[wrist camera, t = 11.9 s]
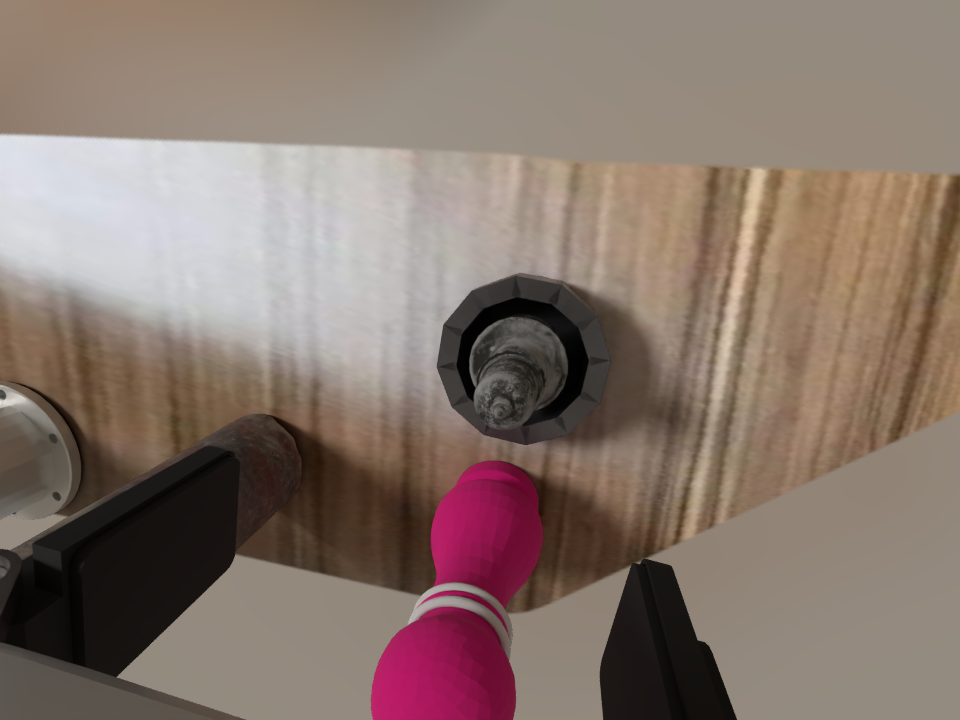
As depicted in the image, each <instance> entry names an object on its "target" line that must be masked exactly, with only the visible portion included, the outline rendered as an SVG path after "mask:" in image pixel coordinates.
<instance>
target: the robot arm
mask: <svg viewBox="0 0 960 720" xmlns="http://www.w3.org/2000/svg"><path fill="white" fill-rule="evenodd" d="M239 477H240V461H239V460H238V459H237V458H236V456H235V453H234V452H233V451H231V450H227V449H223V448H219V447H215V446H211V445H208V446H205V447H203V448H201V449H200V450H198V451H196V452H194V453H192V454H191V455H189V456H187V457H185V458H183V459H182V460H180V461H178V462H176V463H175V464H173V465H171V466H169V467H167V468H166V469H164V470H162V471H160V472H158V473H157V474H155V475H153V476H151V477H150V478H148V479H146V480H144V481H142V482H141V483H139V484H137V485H135V486H133V487H132V488H130V489H128V490H126V491H125V492H123V493H121V494H119V495H117V496H116V497H114V498H112V499H110V500H108V501H107V502H105V503H103V504H101V505H100V506H98V507H96V508H94V509H92V510H91V511H89V512H87V513H85V514H83V515H82V516H80V517H78V518H76V519H75V520H73V521H71V522H69V523H67V524H66V525H64V526H62V527H60V528H58V529H57V530H55V531H53V532H51V533H50V534H48V535H46V536H44V537H42V538H41V539H39V540H37V541H35V542H33V543H32V550H33V554H32V555H30V556H29V557H27V558H25V559H24V560H22V559H21V558H20V556H19V555H18V554H17V553H15V552H12V551H10V550H6V549H0V720H245V719H242V718H239V717H236V716H233V715H230V714H227V713H224V712H221V711H218V710H214V709H212V708H209V707H206V706H202V705H200V704H196V703H193V702H190V701H187V700H184V699H181V698H178V697H175V696H172V695H168V694H166V693H163V692H159V691H156V690H153V689H150V688H147V687H144V686H141V685H138V684H135V683H132V682H129V681H126V680H123V679H120V678H116V677H117V676H118V675H119V674H120V673H121V672H122V671H123V670H124V669H125V668H126V667H127V666H128V665H129V664H130V663H131V662H132V661H133V660H134V659H136V657H138V656H139V655H140V654H141V653H142V652H143V651H144V650H145V649H146V648H147V647H148V646H149V645H150V644H151V643H152V642H153V641H154V640H155V639H156V638H157V637H158V636H159V635H160V634H161V633H162V632H164V630H166V629H167V628H168V626H170V625H171V624H172V623H173V622H174V621H175V620H176V619H177V618H178V617H179V616H180V615H181V614H182V613H183V612H184V611H185V610H186V609H187V608H188V607H189V606H190V605H191V604H192V603H194V602H195V601H196V600H197V599H198V598H199V597H200V596H201V595H202V594H203V593H204V592H205V591H206V590H207V589H208V588H209V587H210V586H211V585H212V584H213V583H214V582H215V581H216V580H217V579H218V578H219V577H220V576H221V575H223V573H225V572H226V571H227V569H228V568H229V567H230V565H231V564H232V562H233V559H234V557H235V549H236V531H237V513H238V495H239ZM80 480H81V461H80V454H79V450H78V447H77V444H76V441H75V439H74V437H73V435H72V433H71V430H70V428H69V427H68V425H67V424H66V422H65V421H64V419H63V418H62V416H61V415H60V414H59V413H58V412H57V411H56V410H55V409H54V407H53V406H52V405H51V404H49V403H48V402H47V401H46V400H45V399H44V398H42V397H41V396H40V395H38V394H36V393H35V392H33V391H32V390H30V389H28V388H26V387H23V386H21V385H19V384H16V383H11V382H6V381H0V519H3V518H4V517H7V516H12V517H16V518H20V519H29V520H34V519H41V518H45V517H47V516H50V515H52V514H54V513H56V512H58V511H59V510H61V509H63V508H64V507H66V506H67V505H68V504H69V503H70V502H71V501H72V500H73V498H74V496H75V494H76V493H77V491H78V488H79V484H80ZM600 686H601V699H602V710H603V720H737V718H736V716H735V713H734V710H733V707H732V705H731V702H730V699H729V697H728V694H727V691H726V688H725V686H724V683H723V680H722V678H721V675H720V672H719V670H718V667H717V664H716V662H715V659H714V656H713V653H712V651H711V649H710V647H709V646H708V645H707V644H706V643H705V642H702V641H698V640H697V637H696V634H695V632H694V629H693V626H692V623H691V620H690V617H689V614H688V612H687V608H686V606H685V603H684V600H683V597H682V594H681V591H680V588H679V585H678V582H677V579H676V577H675V574H674V571H673V568H672V566H670V565H667V564H663V563H659V562H655V561H652V560H648V559H643V560H642V561H641V563H640V564H636V563H633V564H632V565H631V568H630V571H629V574H628V577H627V580H626V584H625V587H624V590H623V593H622V597H621V600H620V603H619V606H618V609H617V612H616V616H615V619H614V622H613V625H612V628H611V632H610V635H609V638H608V641H607V644H606V648H605V651H604V654H603V657H602V661H601V667H600Z"/></svg>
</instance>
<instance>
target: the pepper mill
mask: <svg viewBox="0 0 960 720" xmlns="http://www.w3.org/2000/svg"><path fill="white" fill-rule="evenodd" d="M538 508H539V499H538V494H537V491H536V488H535V486H534V484H533V482H532V481H531V479H530V478H529V477H528V476H527V475H526V474H525V473H524V472H523V471H522V470H520V469H519V468H517V467H515V466H513V465H511V464H509V463H505V462H501V461H485V462H481V463H478V464H475V465H473V466H471V467H470V468H468V469H467V470H466V471H465V472H464V473H463V474H462V475H461V477H460V478H459V480H458V482H457V484H456V486H455V487H454V488H453V489H452V490H451V491H450V492H448V493H447V494H446V496H445V497H444V498H443V499H442V501H441V502H440V504H439V506H438V508H437V510H436V513H435V516H434V519H433V524H432V529H431V549H432V556H433V560H434V564H435V568H436V573H437V578H436V581H435V584H434V587H433V588H431V589H429V590H427V591H426V592H425V593H424V594H423V595H422V596H421V597H420V598H419V600H418V601H417V603H416V604H415V607H414V609H413V613H412V615H411V617H410V619H409V621H408V624H407V626H406V627H405V628H403V629H402V630H400V631H399V632H398V633H397V634H396V635H395V636H394V637H393V638H392V639H391V641H390V643H389V644H388V646H387V648H386V649H385V651H384V653H383V654H382V656H381V658H380V660H379V663H378V666H377V669H376V672H375V675H374V680H373V685H372V695H371V711H372V717H373V720H513V717H514V712H515V706H516V690H515V679H514V674H513V671H512V668H511V665H510V663H509V658H510V646H511V643H512V625H511V621H510V619H509V616H508V614H507V612H506V606H507V603H508V601H509V599H510V598H511V597H512V596H513V595H514V594H515V593H516V592H517V591H518V590H519V589H520V588H521V586H522V585H523V584H524V583H525V582H526V581H527V579H528V578H529V577H530V575H531V573H532V572H533V570H534V568H535V566H536V564H537V562H538V559H539V556H540V552H541V548H542V543H543V528H542V523H541V519H540V516H539V514H538Z"/></svg>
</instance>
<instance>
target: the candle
mask: <svg viewBox="0 0 960 720" xmlns="http://www.w3.org/2000/svg"><path fill="white" fill-rule="evenodd" d="M208 445H211V446H215V447H219V448H223V449H227V450H231V451H233V452H234V453H235V456H236V458H237V459H238V460H239V461H240V477H239V495H238V513H237V531H236V549H235V551H236V550H237V549H238V548H239V547H240V546H241V545H242V544H243V543H244V542H245V541H246V540H248V539H249V538H250V537H251V536H252V535H253V534H254V533H255V532H256V531H257V530H258V529H260V528H261V527H262V526H263V525H264V524H265V523H266V522H267V521H268V520H269V519H270V518H271V517H272V516H273V515H274V514H275V513H276V512H277V511H278V510H279V509H280V508H281V507H282V506H283V505H284V504H285V503H286V502H287V501H288V500H289V499H290V498H291V497H292V496H293V495H294V494H295V493H296V491H297V490H298V488H299V485H300V483H301V482H300V480H301V477H302V475H301V471H302V470H301V467H302V461H301V457H300V455H299V453H298V450H297V447H296V444H295V441H294V438H293V437H292V436H291V435H290V434H289V433H288V432H287V431H286V430H285V429H284V428H283V427H281V426H280V425H279V424H278V423H277V422H276V421H275V420H274V418H273V417H271V416H268V415H264V414H253V415H248V416H245V417H242V418H240V419H238V420H236V421H234V422H232V423H231V424H229V425H227V426H225V427H224V428H222V429H220V430H218V431H216V432H215V433H213V434H211V435H209V436H208V437H206V438H204V439H202V440H201V441H199V442H197V443H196V444H194V445H192V446H191V447H189V448H187V449H185V450H184V451H182V452H180V453H179V454H177V455H175V456H174V457H172V458H170V459H169V460H167V461H165V462H163V463H161V464H160V465H158V466H156V467H155V468H153V469H152V470H150V471H148V472H146V473H145V474H143V475H141V476H139V477H138V478H136V479H134V480H132V481H131V482H129V483H127V484H125V485H124V486H122V487H120V488H118V489H117V490H115V491H113V492H111V493H109V494H108V495H106V496H104V497H103V498H101V499H99V500H98V501H96V502H94V503H92V504H91V505H89V506H87V507H85V508H84V509H82V510H80V511H78V512H77V513H75V514H73V515H71V516H69V517H67V518H65V519H64V520H62V521H60V522H58V523H57V524H55V525H54V526H52V527H50V528H49V529H47V530H45V531H43V532H42V533H40V534H38V535H36V536H35V537H33V538H31V539H30V540H28V541H26V542H24V543H23V544H21V545H19V546H17V547H15V548H14V549H11V550H10V551H12V552H15V553H17V554H18V555H19V556H20V558H21V559H22V560H24V559H25V558H27V557H29V556H30V555H32V554H33V550H32V543H33V542H35V541H37V540H39V539H41V538H42V537H44V536H46V535H48V534H50V533H51V532H53V531H55V530H57V529H58V528H60V527H62V526H64V525H66V524H67V523H69V522H71V521H73V520H75V519H76V518H78V517H80V516H82V515H83V514H85V513H87V512H89V511H91V510H92V509H94V508H96V507H98V506H100V505H101V504H103V503H105V502H107V501H108V500H110V499H112V498H114V497H116V496H117V495H119V494H121V493H123V492H125V491H126V490H128V489H130V488H132V487H133V486H135V485H137V484H139V483H141V482H142V481H144V480H146V479H148V478H150V477H151V476H153V475H155V474H157V473H158V472H160V471H162V470H164V469H166V468H167V467H169V466H171V465H173V464H175V463H176V462H178V461H180V460H182V459H183V458H185V457H187V456H189V455H191V454H192V453H194V452H196V451H198V450H200V449H201V448H203V447H205V446H208Z"/></svg>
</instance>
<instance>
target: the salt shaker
mask: <svg viewBox="0 0 960 720" xmlns="http://www.w3.org/2000/svg"><path fill="white" fill-rule="evenodd" d="M469 363H470V374H471V378H472V381H473V384H474V386H475V387H476V390H475V393H474V407H475V410H476V413H477V415H478V416H479V418H480V419H481V420H482V421H483V422H484V423H485V424H486V425H488V426H490V427H492V428H495V429H498V430H510V429H515V428H517V427H519V426H521V425H522V424H523V423H525V422H526V421H527V420H528V419H529V418H530V416H531V415H532V413H533V411H537V410H539V409H541V408H543V407H545V406H547V405H548V404H550V403H551V402H552V401H553V400H554V399H555V398H556V397H557V396H558V395H559V393H560V392H561V390H562V389H563V387H564V384H565V381H566V378H567V375H568V359H567V355H566V351H565V348H564V346H563V344H562V342H561V339H560V337H559V336H558V334H557V332H556V330H555V329H554V328H553V327H552V326H551V325H550V324H549V323H548V322H546V321H544V320H543V319H541V318H539V317H536V316H532V315H529V314H517V315H513V316H509V317H507V318H505V319H502V320H499V321H497V322H495V323H494V324H492V325H490V326H488V327H487V328H486V329H485V330H484V331H483V332H482V333H481V334H480V335H479V336H478V338H477V340H476V341H475V343H474V345H473V347H472V351H471V355H470V358H469Z"/></svg>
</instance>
